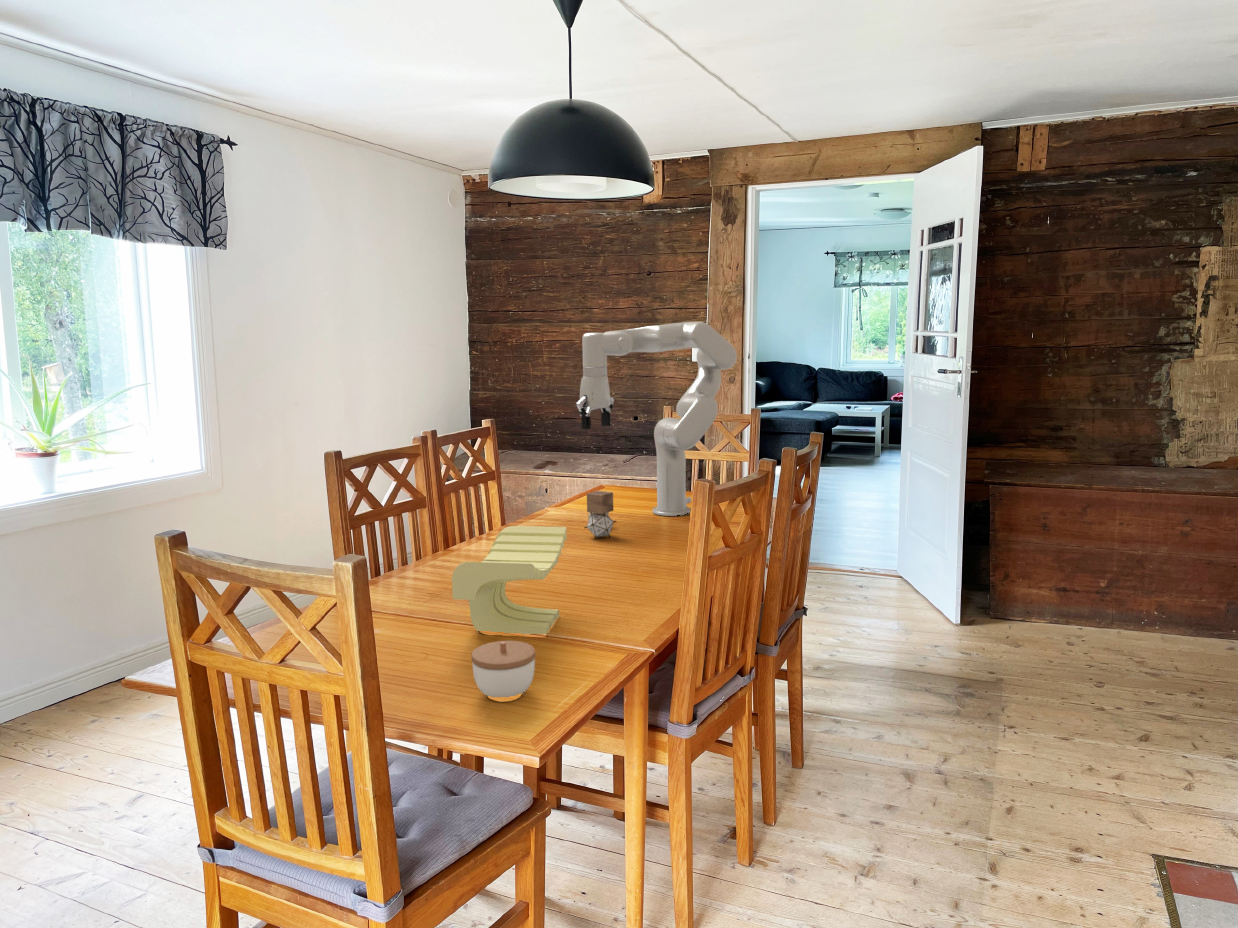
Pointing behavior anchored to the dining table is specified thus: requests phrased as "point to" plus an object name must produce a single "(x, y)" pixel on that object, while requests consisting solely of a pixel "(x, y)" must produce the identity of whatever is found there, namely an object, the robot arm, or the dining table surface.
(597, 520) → the game die
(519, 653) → the lidded jar
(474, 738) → the dining table surface
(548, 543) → the slatted curved stool
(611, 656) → the dining table surface
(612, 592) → the dining table surface
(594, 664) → the dining table surface
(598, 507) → the walnut block
